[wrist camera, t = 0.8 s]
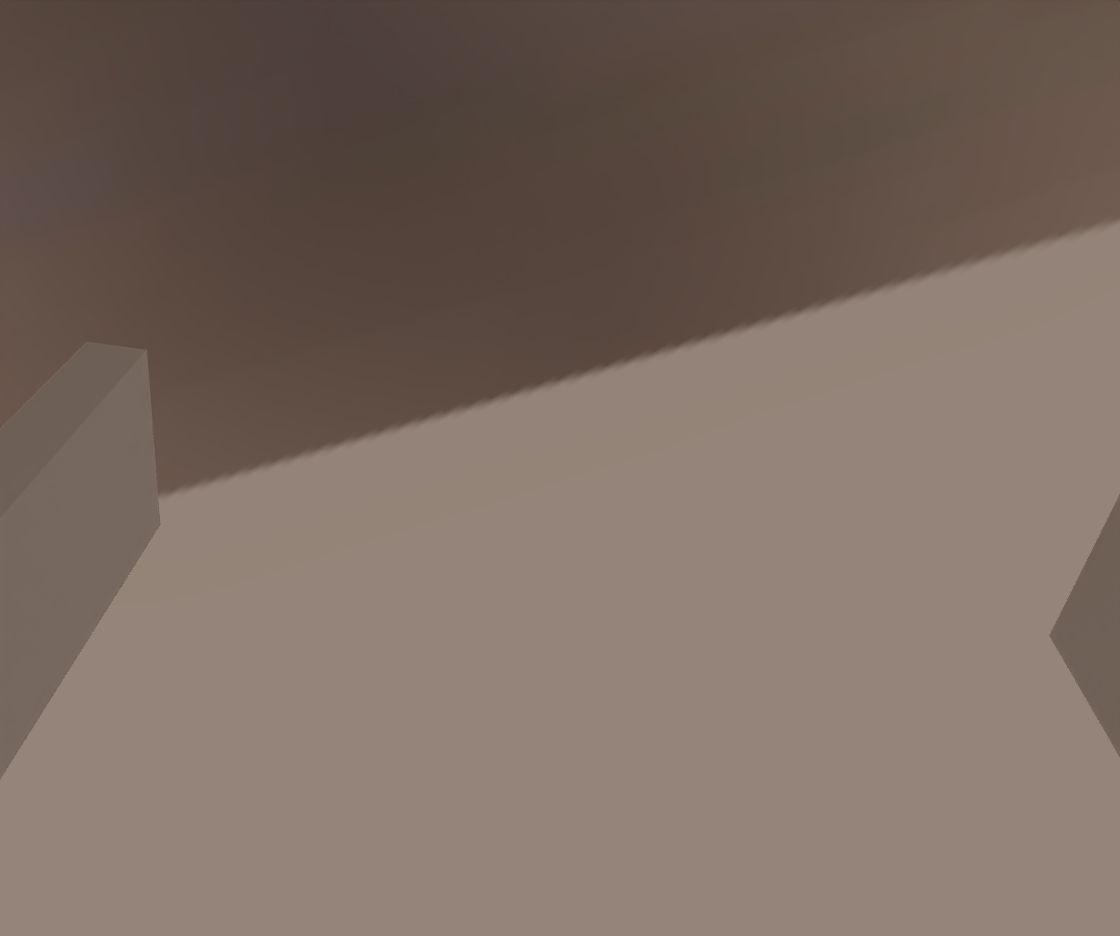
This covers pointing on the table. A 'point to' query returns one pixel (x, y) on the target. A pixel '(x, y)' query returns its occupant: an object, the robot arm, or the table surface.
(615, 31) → the table surface
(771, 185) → the table surface
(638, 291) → the table surface
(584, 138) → the table surface
